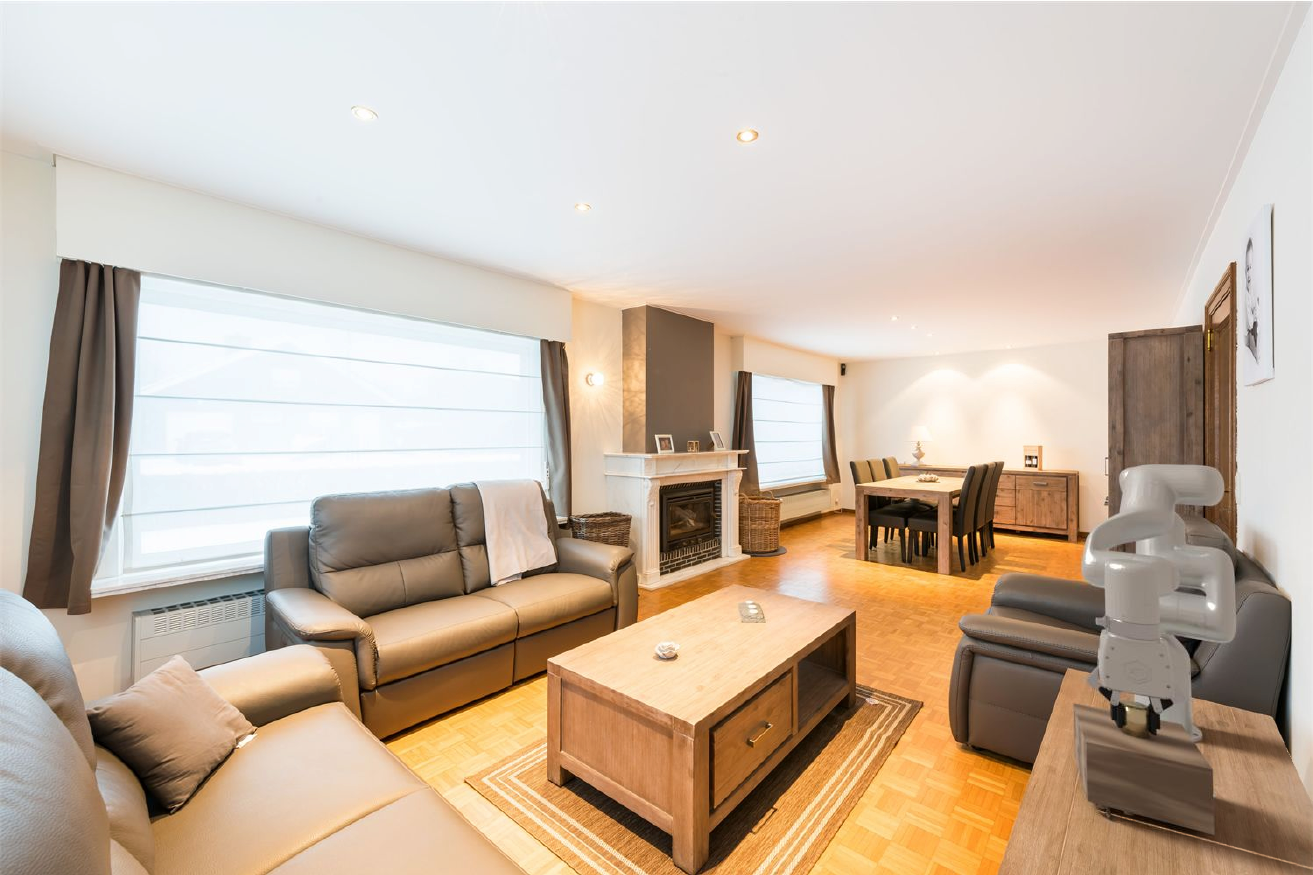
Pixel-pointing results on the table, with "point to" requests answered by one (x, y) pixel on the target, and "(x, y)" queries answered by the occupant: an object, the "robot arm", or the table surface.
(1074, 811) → the table surface
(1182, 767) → the walnut cover
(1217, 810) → the table surface
